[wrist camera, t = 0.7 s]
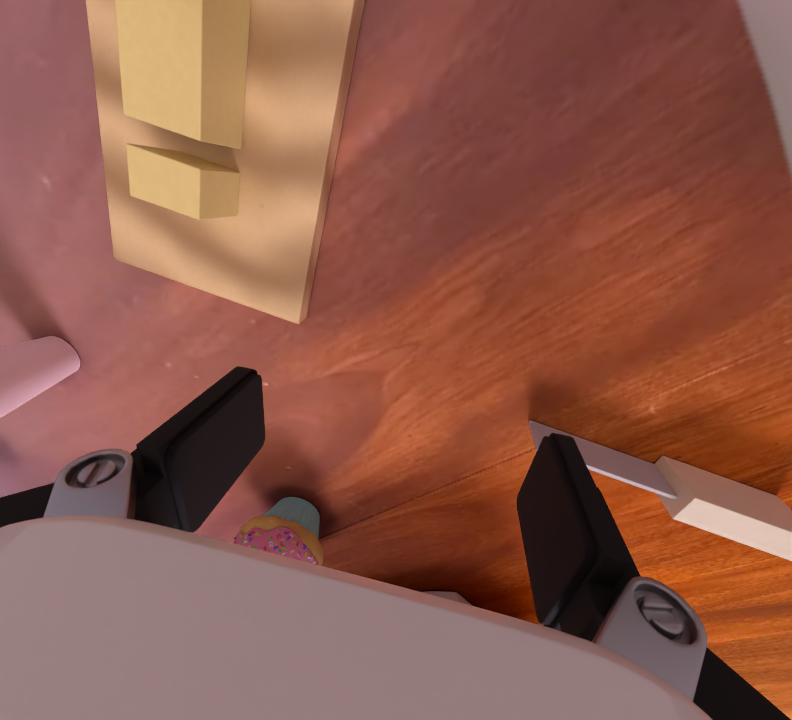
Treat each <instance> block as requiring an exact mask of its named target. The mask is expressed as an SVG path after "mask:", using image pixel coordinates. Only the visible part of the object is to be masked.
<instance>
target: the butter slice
mask: <svg viewBox="0 0 792 720" xmlns="http://www.w3.org/2000/svg"><path fill="white" fill-rule="evenodd" d="M126 149H127V162H128V174H129V187H130V195H131V196H133V197H136V198H139V199H141V200H144V201H147V202H150V203H153V204H156V205H158V206H161V207H164V208H167V209H170V210H173V211H175V212H178V213H181V214H184V215H187V216H190V217H192V218H195V219H198V220H202V219H212V218H221V217H231V216H237V210H238V195H239V179H240V173H239V172H237V171H234V170H231V169H228V168H225V167H223V166H220V165H217V164H214V163H211V162H208V161H205V160H203V159H200V158H197V157H194V156H191V155H188V154H185V153H183V152H180V151H176V150H169V149H163V148H156V147H149V146H143V145H136V144H129V143H126Z"/></svg>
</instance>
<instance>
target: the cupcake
mask: <svg viewBox="0 0 792 720" xmlns="http://www.w3.org/2000/svg"><path fill="white" fill-rule="evenodd" d="M319 523H320V515H319V513H318V511H317V509H316V508H315V507H314V506H313V505H312V504H311V503H309V502H308V501H306V500H304V499H301V498H297V497H286V498H283V499H281V500H280V501H279V502H278V503H277V504H276V505H275V506H274V507H272V508H271V509H270V510H269V511H268V512H266V513H265V514H264V515H262V516H258V517H255V518H253V519H251V520H250V521H248V522H247V523H246V524H244V525H243V526H242V527H241V529H240V531H239V533H238V534H237V536H236V537H235V538H234V539H235V542H234V543H235V544H239V545H243V546H247V547H250V548H254V549H258V550H262V551H266V552H270V553H274V554H278V555H282V556H286V557H289V558H293V559H297V560H301V561H305V562H309V563H312V564H316V565H320V566H321V565H322V562H323V556H324V553H323V547H322V545H321V543H320V542H319V541H318V536H319Z"/></svg>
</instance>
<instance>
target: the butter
mask: <svg viewBox="0 0 792 720" xmlns="http://www.w3.org/2000/svg"><path fill="white" fill-rule="evenodd" d="M250 8H251V0H115V11H116V23H117V36H118V49H119V61H120V74H121V87H122V99H123V112H124V114H125V115H127V116H129V117H132V118H135V119H138V120H141V121H144V122H147V123H150V124H152V125H155V126H158V127H161V128H164V129H167V130H170V131H172V132H175V133H178V134H181V135H184V136H187V137H190V138H193V139H195V140H198V141H202V142H207V143H212V144H217V145H222V146H227V147H232V148H237V149H241V148H242V133H243V117H244V101H245V86H246V70H247V54H248V39H249V23H250Z"/></svg>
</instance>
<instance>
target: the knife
mask: <svg viewBox="0 0 792 720" xmlns="http://www.w3.org/2000/svg"><path fill="white" fill-rule="evenodd" d="M528 424H529V427H530V430H531V434H532V437H533V440H534V444H535V447H536V450H538V448H539V446H540V443H541V441H542V439H543V437H544V436H550V434H551V433H557V434H562V435H567V436H571V437H573V438H574V440H575V442H576V444H577V446H578V448H579V451H580V453H581V455H582V457H583V459H584V461H585V464H586V466H587V468H588V469H590V470H592V471H595V472H598V473H601V474H604V475H606V476H609V477H612V478H615V479H618V480H620V481H623V482H626V483H629V484H632V485H634V486H637V487H640V488H643V489H646V490H649V491H651V492H654V493H656V494H657V495H658V497H659V498H660V500H661V501H662V503H663V505H664V506H665V508H666V509H667V511H668V512H669V514H670V515H671V517H672V518H673V519H675V520H678V521H681V522H684V523H686V524H689V525H692V526H695V527H698V528H700V529H703V530H706V531H709V532H712V533H714V534H717V535H720V536H723V537H726V538H728V539H731V540H734V541H737V542H740V543H742V544H745V545H748V546H751V547H754V548H756V549H759V550H762V551H765V552H768V553H770V554H773V555H776V556H779V557H782V558H784V559H787V560H790V561H792V510H791V509H790V508H789V507H788V506H787V505H786V504H785V503H784V502H783V501H782V500H781V499H780V498H779V497H778V496H776V495H773V494H770V493H767V492H764V491H761V490H759V489H756V488H753V487H750V486H747V485H745V484H742V483H739V482H736V481H733V480H730V479H728V478H725V477H722V476H719V475H716V474H714V473H711V472H708V471H705V470H702V469H699V468H697V467H694V466H691V465H688V464H685V463H683V462H680V461H677V460H674V459H671V458H668V457H666V456H662V457H661V458H660V459H659V460H658V461H657V462H656V463H655V464H653V463H650V462H647V461H644V460H641V459H639V458H636V457H633V456H630V455H627V454H625V453H622V452H619V451H616V450H613V449H611V448H608V447H605V446H602V445H599V444H596V443H594V442H591V441H588V440H585V439H582V438H580V437H577V436H574V435H571V434H568V433H565V432H563V431H560V430H557V429H554V428H551V427H549V426H546V425H543V424H540V423H537V422H535V421H532V420H530V421H529V422H528Z"/></svg>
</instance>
